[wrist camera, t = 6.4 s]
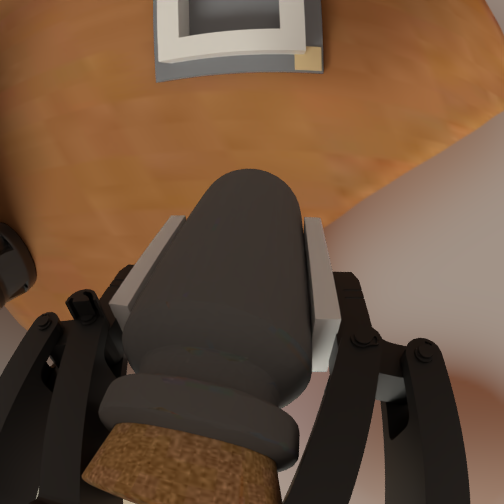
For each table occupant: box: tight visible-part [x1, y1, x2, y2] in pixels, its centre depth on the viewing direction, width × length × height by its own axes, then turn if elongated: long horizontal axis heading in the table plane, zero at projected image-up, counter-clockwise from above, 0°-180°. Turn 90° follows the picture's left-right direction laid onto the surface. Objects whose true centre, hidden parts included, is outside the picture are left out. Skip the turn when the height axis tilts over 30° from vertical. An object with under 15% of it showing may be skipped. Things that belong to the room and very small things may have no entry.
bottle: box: [82, 169, 312, 504], centre depth 10 cm, size 6×6×15 cm
